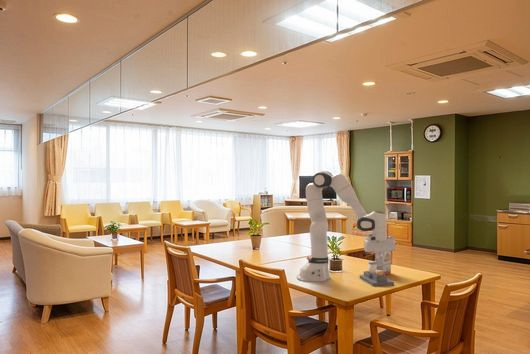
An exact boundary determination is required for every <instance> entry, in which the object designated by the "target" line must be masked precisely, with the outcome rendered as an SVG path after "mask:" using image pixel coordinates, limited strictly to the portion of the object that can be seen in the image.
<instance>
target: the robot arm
mask: <svg viewBox="0 0 530 354" xmlns="http://www.w3.org/2000/svg"><path fill="white" fill-rule="evenodd" d="M328 187H330V188H332V189H333V191H334V192H335V193H336V195H337V196H338V198H339V199H340V201H342V202H343V203H345V204H347V205H349V207H350V208H352V211H354V213H355V214H356V216H357V218H358V219H357V221H356V226H357V229H358V230H360V232H361V231H362V232H368V231H369V232H370V231H372V233H370V234H368V235H365V236H364V239H365V240H364V243H363V250H364V251H363V252H366V253H375V252H376V254H377V258H378V259H383V255H384V251H391V252H395V251H396V249H397V247H396V238H395V237H394V236H392V235H388V232H387V225H388V223H387V216H386V213H385V212H383V211H381V210H380V211H379V210H373V211H371V213H368V212H367V211H366V210H365V208H364V206H363V205H362V204H361V201H360V200H359V199H358V196H357V194H356V191H355V189H354V188H353V187H354V186H352V184H351V183H350V181H349V180H348V178H347V177H346V176H345V175H344V174H343V173H341V172H340V173H334V174H332V173H331V171H330V172H329V171H327V170H325V171H324V170H321V171H318V172H316V173H315V174H314V175H313V177H312V182H311V183H309V184H307V185H306V187H305V199H306V205H307V206H306V207H307V212H308V214H309V218H310V222H311V224H310V225H309V238H310V246H311V247H310V249H311V250H310V256H309V255H308V256H306V260H307V263H305V264H304V265H302V267H301V268H300V269H299V274H296V278H297V280H299V281H302V282H326V281H327V280H329V279H331V275H330V272H329V271H330V269H329V262H330V261H329V255H328V254H329V252H328V251H329V249H328V235H327V234H328V233H327V232H328V230H329V221H328V217H327V214H326V210H325V204H324V198H323V190H324V189H326V188H328ZM379 252H381V255H379V254H378V253H379Z"/></svg>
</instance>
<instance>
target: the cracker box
mask: <svg viewBox="0 0 530 354" xmlns="http://www.w3.org/2000/svg"><path fill="white" fill-rule="evenodd" d="M374 254H375V255H374V257H375V258H374V261H375V262H377V270H382V271H383V274H384V275H386V276H387V275H390V274H391V273H392V272H391V271H392V268H391V267H392V251H384V255H383V259H378V258H377V254H376V252H374ZM378 254H379V255H381V252H379V253H378Z"/></svg>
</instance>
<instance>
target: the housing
mask: <svg viewBox="0 0 530 354" xmlns="http://www.w3.org/2000/svg"><path fill="white" fill-rule="evenodd" d="M359 279H360V280H362V281H363V282H365V283H367V284H369V285H371V286H372V287H382V286H394V285H395V282H394V281H393V280H391V279H389V278H388V276H387V275H384V274H383V276H377V275H376V274H369V270H364V271H363V274H359Z"/></svg>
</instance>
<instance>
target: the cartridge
mask: <svg viewBox="0 0 530 354" xmlns="http://www.w3.org/2000/svg"><path fill="white" fill-rule="evenodd" d="M376 270H377V262H375V260H374V261H373V260H370V261H368V271H369V274H376Z"/></svg>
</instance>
